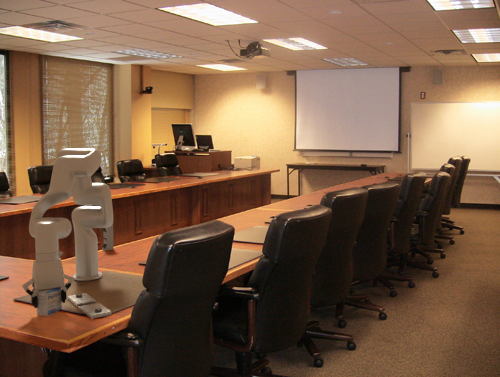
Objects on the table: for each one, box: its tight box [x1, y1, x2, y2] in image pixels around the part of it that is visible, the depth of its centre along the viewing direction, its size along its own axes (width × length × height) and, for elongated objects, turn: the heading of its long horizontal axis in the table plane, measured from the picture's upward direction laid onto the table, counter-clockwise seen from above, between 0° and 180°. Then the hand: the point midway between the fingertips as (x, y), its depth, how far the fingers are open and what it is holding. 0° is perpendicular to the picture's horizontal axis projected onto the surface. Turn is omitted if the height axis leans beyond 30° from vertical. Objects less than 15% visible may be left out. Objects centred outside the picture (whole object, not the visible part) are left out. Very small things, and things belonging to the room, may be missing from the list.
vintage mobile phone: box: [101, 223, 115, 252], centre depth 284 cm, size 4×5×25 cm
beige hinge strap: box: [66, 292, 112, 320], centre depth 188 cm, size 27×7×2 cm, turn 36°
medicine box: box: [36, 287, 63, 317], centre depth 182 cm, size 8×4×9 cm, turn 163°
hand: (49, 304), depth 182 cm, fingers closed on medicine box, 9 cm apart
